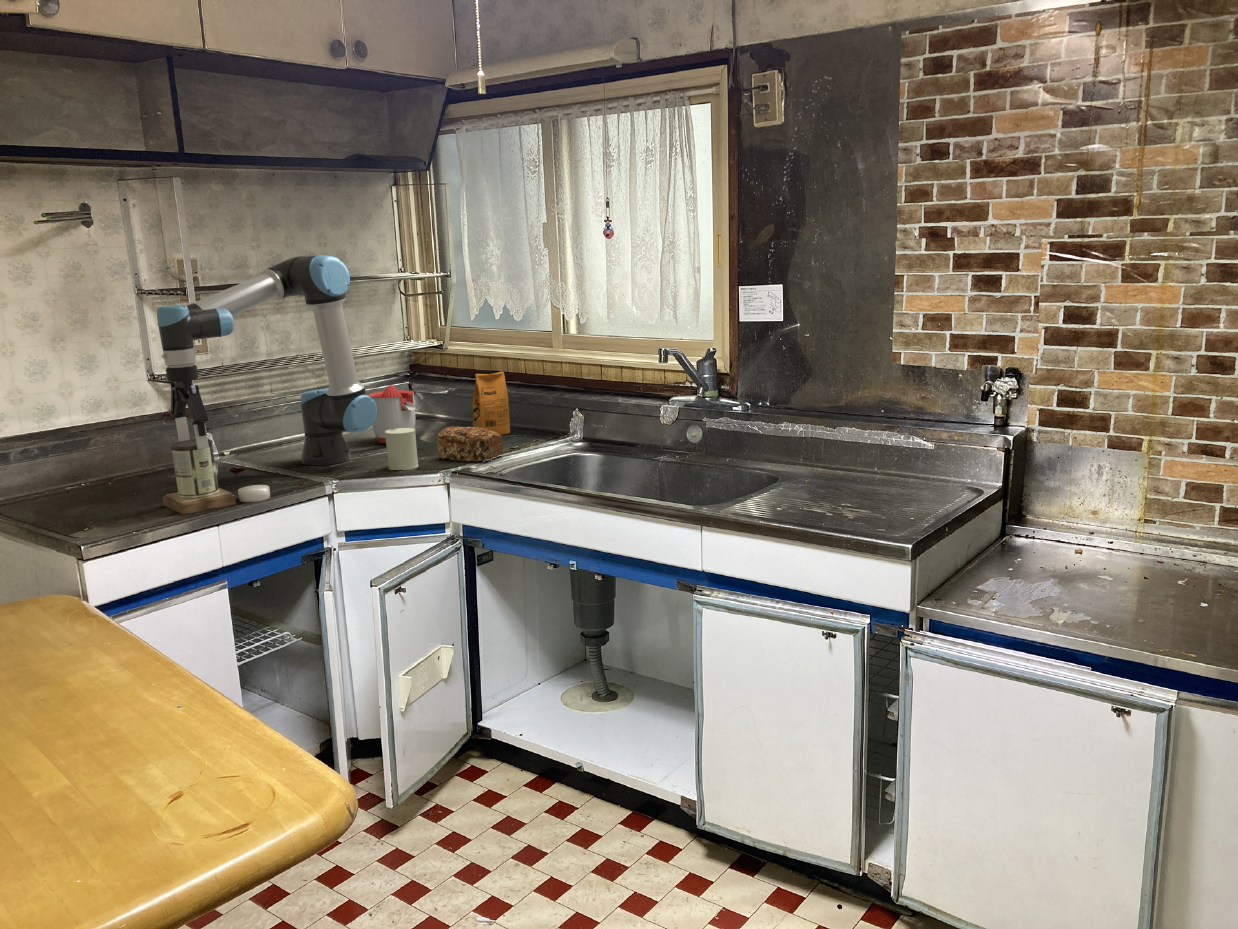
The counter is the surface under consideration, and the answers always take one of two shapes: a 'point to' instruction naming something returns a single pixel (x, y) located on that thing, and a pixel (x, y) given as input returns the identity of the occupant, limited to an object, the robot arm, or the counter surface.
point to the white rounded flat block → (254, 493)
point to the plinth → (198, 502)
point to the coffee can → (194, 469)
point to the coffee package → (491, 403)
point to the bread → (469, 444)
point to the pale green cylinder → (401, 449)
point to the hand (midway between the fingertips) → (193, 444)
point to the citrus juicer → (393, 411)
